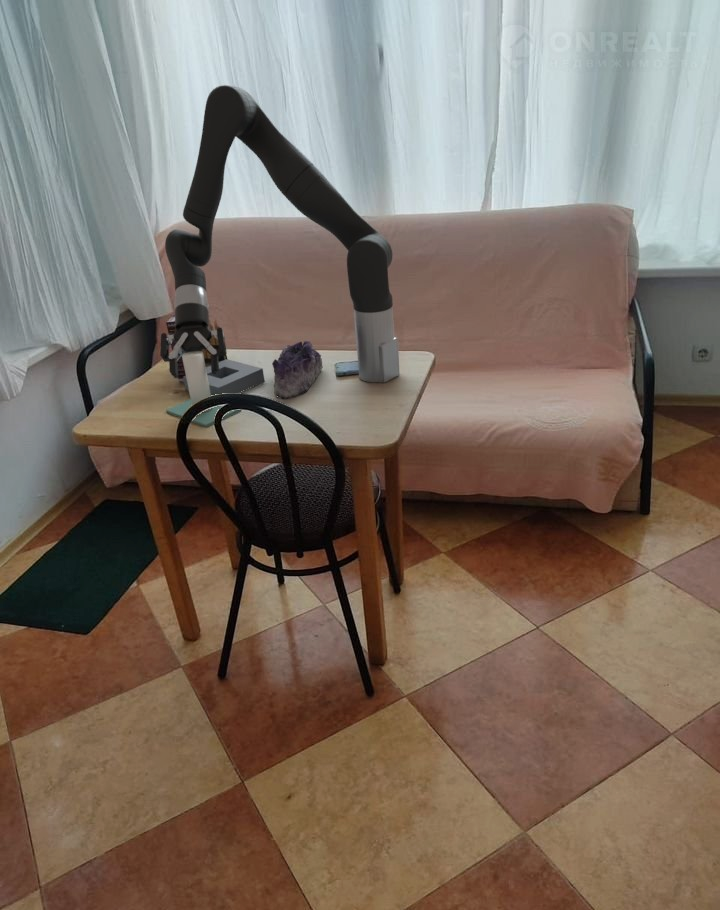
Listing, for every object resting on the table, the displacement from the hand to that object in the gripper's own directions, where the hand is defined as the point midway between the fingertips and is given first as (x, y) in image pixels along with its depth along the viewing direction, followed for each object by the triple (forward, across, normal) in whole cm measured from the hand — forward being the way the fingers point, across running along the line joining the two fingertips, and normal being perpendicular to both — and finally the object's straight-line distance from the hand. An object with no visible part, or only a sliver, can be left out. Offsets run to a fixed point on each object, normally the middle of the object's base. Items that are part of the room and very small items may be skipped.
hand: (194, 374), depth 140 cm
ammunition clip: (-18, -3, +32) cm, 37 cm away
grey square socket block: (-5, +4, +18) cm, 19 cm away
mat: (+6, 0, +7) cm, 9 cm away
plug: (+5, 0, +7) cm, 9 cm away
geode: (-2, +22, +16) cm, 27 cm away
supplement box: (-11, -6, +25) cm, 28 cm away
